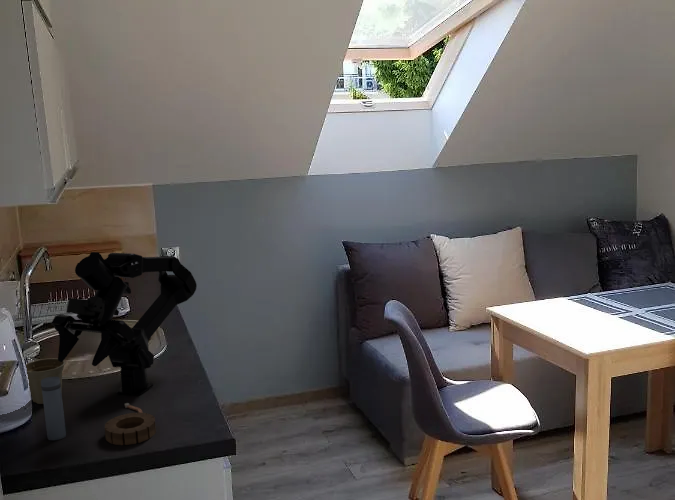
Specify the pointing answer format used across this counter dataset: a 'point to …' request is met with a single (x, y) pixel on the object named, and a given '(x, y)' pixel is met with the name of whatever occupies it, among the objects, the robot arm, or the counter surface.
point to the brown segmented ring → (130, 428)
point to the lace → (133, 408)
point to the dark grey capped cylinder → (53, 408)
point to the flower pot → (43, 375)
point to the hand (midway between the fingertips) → (76, 363)
